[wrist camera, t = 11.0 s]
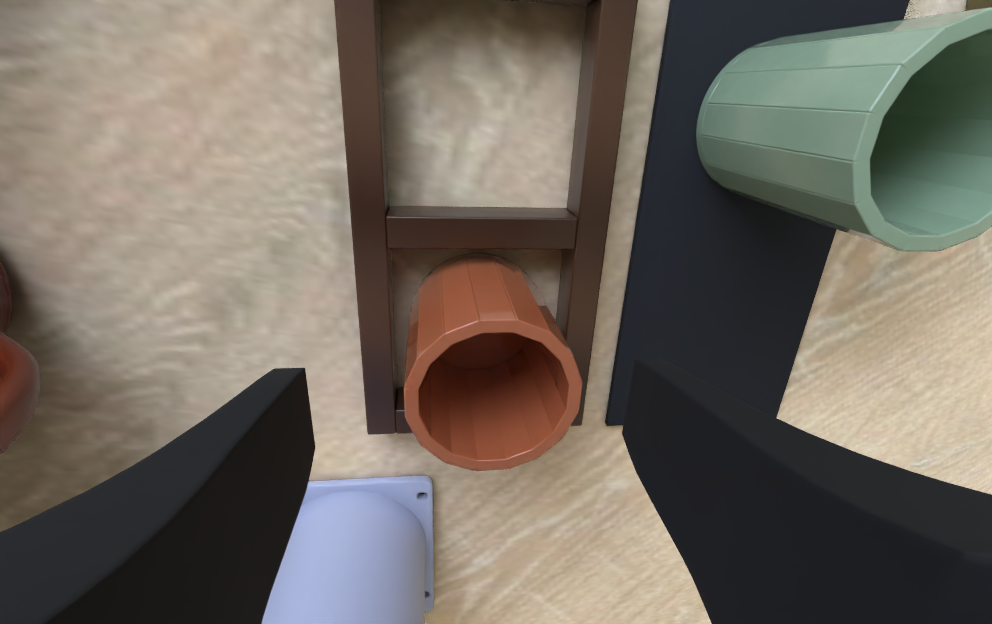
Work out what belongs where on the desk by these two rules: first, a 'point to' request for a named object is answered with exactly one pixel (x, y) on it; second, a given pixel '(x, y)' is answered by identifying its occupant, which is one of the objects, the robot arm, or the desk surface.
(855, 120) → the cup
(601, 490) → the desk surface
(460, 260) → the terracotta cup
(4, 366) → the mug
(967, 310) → the desk surface
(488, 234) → the holder
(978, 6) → the olive pepper mill
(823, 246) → the desk mat
